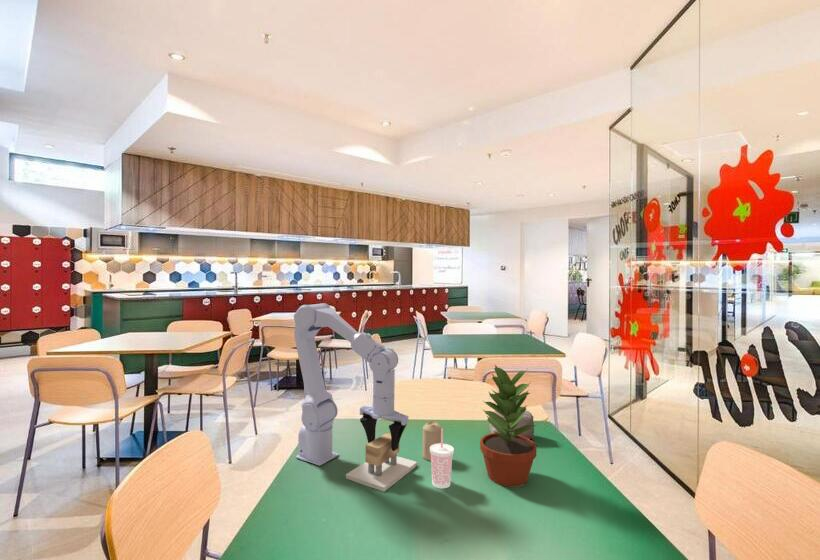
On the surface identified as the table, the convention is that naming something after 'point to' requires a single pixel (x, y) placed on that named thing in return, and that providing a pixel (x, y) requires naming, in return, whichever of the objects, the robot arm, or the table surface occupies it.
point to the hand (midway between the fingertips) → (382, 446)
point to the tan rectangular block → (380, 450)
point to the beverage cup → (441, 463)
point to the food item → (519, 424)
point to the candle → (430, 437)
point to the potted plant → (508, 434)
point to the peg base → (382, 472)
